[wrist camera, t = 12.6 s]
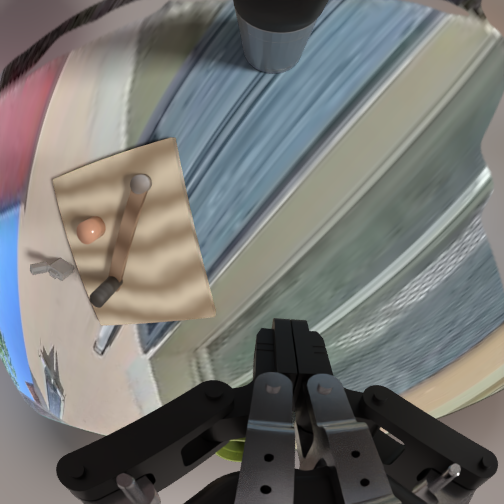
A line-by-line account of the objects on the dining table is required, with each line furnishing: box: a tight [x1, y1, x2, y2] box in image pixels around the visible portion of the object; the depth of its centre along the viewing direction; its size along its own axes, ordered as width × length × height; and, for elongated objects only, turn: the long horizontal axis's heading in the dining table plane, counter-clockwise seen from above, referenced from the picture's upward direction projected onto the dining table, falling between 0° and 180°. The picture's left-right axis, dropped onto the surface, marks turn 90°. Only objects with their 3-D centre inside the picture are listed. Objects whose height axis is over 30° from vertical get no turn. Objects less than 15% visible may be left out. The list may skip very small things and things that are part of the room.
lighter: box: [30, 258, 74, 281], centre depth 47 cm, size 7×2×8 cm, turn 63°
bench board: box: [53, 138, 216, 326], centre depth 48 cm, size 32×26×2 cm
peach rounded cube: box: [76, 216, 106, 244], centre depth 44 cm, size 4×4×4 cm
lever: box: [90, 174, 152, 308], centre depth 42 cm, size 22×3×8 cm, turn 156°
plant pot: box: [215, 437, 246, 462], centre depth 59 cm, size 12×12×11 cm
